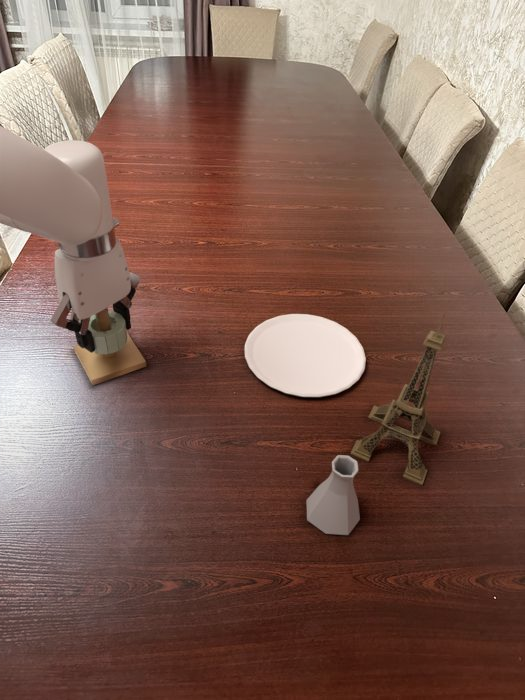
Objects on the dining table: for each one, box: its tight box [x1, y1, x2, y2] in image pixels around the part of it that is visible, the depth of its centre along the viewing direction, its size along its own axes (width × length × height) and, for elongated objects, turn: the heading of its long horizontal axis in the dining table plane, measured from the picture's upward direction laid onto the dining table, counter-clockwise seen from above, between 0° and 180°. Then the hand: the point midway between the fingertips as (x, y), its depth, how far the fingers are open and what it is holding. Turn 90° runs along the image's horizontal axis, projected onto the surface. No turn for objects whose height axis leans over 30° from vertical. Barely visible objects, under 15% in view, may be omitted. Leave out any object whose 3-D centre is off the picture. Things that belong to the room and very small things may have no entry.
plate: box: [244, 313, 367, 398], centre depth 89 cm, size 21×21×1 cm
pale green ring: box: [88, 310, 128, 354], centre depth 82 cm, size 6×6×4 cm
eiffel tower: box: [349, 310, 447, 487], centre depth 68 cm, size 11×11×25 cm
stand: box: [73, 307, 147, 386], centre depth 83 cm, size 9×9×11 cm
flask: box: [305, 454, 361, 536], centre depth 65 cm, size 7×7×10 cm
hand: (105, 335), depth 83 cm, fingers closed on pale green ring, 6 cm apart
